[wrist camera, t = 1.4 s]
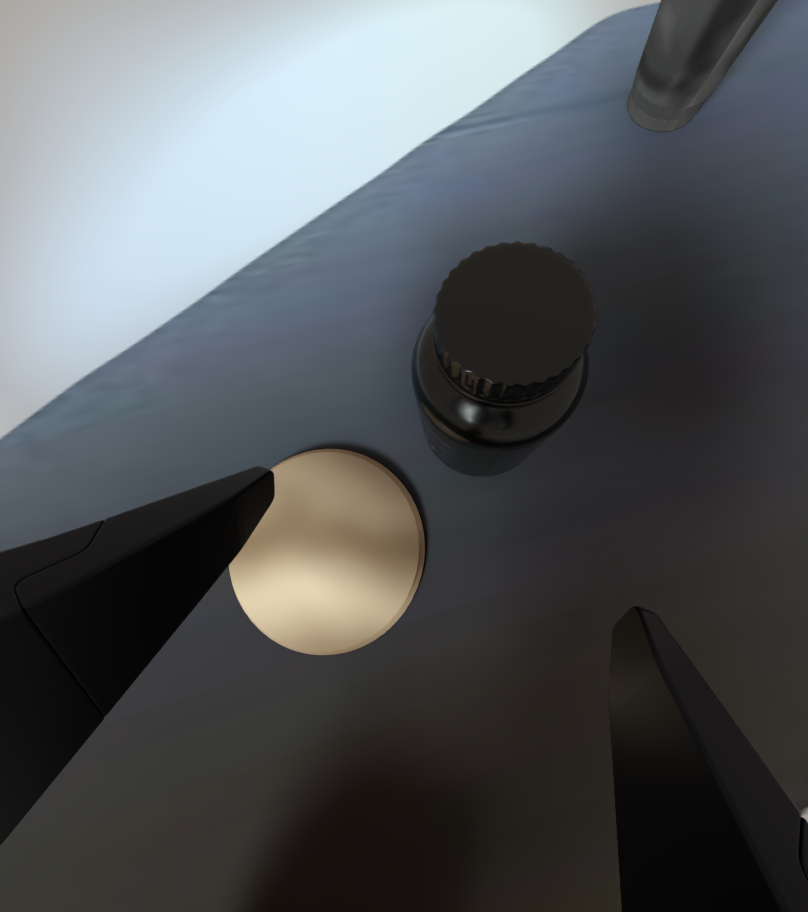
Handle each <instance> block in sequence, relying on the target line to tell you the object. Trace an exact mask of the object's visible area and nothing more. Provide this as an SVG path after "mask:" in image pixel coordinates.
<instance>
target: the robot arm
mask: <svg viewBox="0 0 808 912" xmlns="http://www.w3.org/2000/svg"><path fill="white" fill-rule="evenodd" d="M274 496H275V482H274V473H273V471H271V470H269V469H266V468H264V467H261V466H256V467H253V468H250V469H247V470H244V471H241V472H239V473H236V474H233V475H230V476H227V477H224V478H221V479H218V480H216V481H213V482H210V483H207V484H204V485H201V486H198V487H195V488H192V489H190V490H187V491H184V492H181V493H178V494H175V495H172V496H169V497H167V498H164V499H161V500H158V501H155V502H152V503H149V504H146V505H144V506H141V507H138V508H135V509H132V510H129V511H126V512H123V513H120V514H118V515H115V516H112V517H109V518H106V519H105V521H104V520H100V521H97V522H94V523H91V524H88V525H86V526H83V527H80V528H77V529H74V530H71V531H68V532H65V533H61V534H58V535H55V536H52V537H49V538H46V539H42V540H39V541H36V542H32V543H29V544H25V545H22V546H19V547H15V548H12V549H8V550H5V551H1V552H0V845H1V844H2V843H3V842H4V840H5V839H6V838H7V837H8V836H9V835H10V833H11V832H12V831H13V830H14V828H15V827H16V826H17V825H18V824H19V822H20V821H21V820H22V819H23V817H24V816H25V815H26V814H27V812H28V811H29V810H30V809H31V808H32V806H33V805H34V804H35V803H36V801H37V800H38V799H39V798H40V797H41V795H42V794H43V793H44V792H45V790H46V789H47V788H48V787H49V786H50V784H51V783H52V782H53V781H54V779H55V778H56V777H57V776H58V775H59V773H60V772H61V771H62V770H63V768H64V767H65V766H66V765H67V763H68V762H69V761H70V760H71V759H72V757H73V756H74V755H75V754H76V752H77V751H78V750H79V749H80V748H81V746H82V745H83V744H84V743H85V741H86V740H87V739H88V738H89V737H90V735H91V734H92V733H93V732H94V730H95V729H96V728H97V727H98V726H99V724H100V723H101V722H102V721H103V719H104V716H106V715H107V714H108V713H109V712H110V710H111V709H112V708H113V707H114V706H115V704H116V703H117V702H118V701H119V699H120V698H121V697H122V696H123V694H124V693H125V692H126V691H127V690H128V688H129V687H130V686H131V685H132V683H133V682H134V681H135V680H136V679H137V677H138V676H139V675H140V674H141V672H142V671H143V670H144V669H145V668H146V666H147V665H148V664H149V663H150V661H151V660H152V659H153V658H154V657H155V655H156V654H157V653H158V652H159V650H160V649H161V648H162V647H163V645H164V644H165V643H166V642H167V641H168V639H169V638H170V637H171V636H172V634H173V633H174V632H175V631H176V630H177V628H178V627H179V626H180V625H181V623H182V622H183V621H184V620H185V619H186V617H187V616H188V615H189V614H190V612H191V611H192V610H193V609H194V607H195V606H196V605H197V604H198V603H199V601H200V600H201V599H202V598H203V596H204V595H205V594H206V593H207V592H208V590H209V589H210V588H211V587H212V585H213V584H214V583H215V582H216V581H217V579H218V578H219V577H220V576H221V574H222V573H223V572H224V571H225V570H226V568H227V567H228V566H229V565H230V563H231V562H232V561H233V560H234V558H235V557H236V556H237V555H238V553H239V552H240V551H241V549H242V548H243V547H244V545H245V544H246V542H247V541H248V539H249V538H250V536H251V534H252V533H253V531H254V530H255V528H256V527H257V525H258V524H259V522H260V521H261V519H262V518H263V516H264V514H265V513H266V511H267V510H268V508H269V507H270V505H271V504H272V502H273V500H274ZM609 712H610V729H611V745H612V760H613V776H614V792H615V808H616V824H617V840H618V856H619V872H620V888H621V904H622V912H808V822H807V821H806V820H805V819H804V818H802V817H801V813H800V811H799V810H798V809H797V807H796V806H795V804H794V803H793V802H792V800H791V799H790V798H789V796H788V795H787V793H786V792H785V791H784V789H783V788H782V787H781V785H780V784H779V782H778V781H777V780H776V778H775V777H774V775H773V774H772V773H771V771H770V770H769V769H768V767H767V766H766V764H765V763H764V762H763V760H762V759H761V758H760V756H759V755H758V753H757V752H756V751H755V749H754V748H753V746H752V745H751V744H750V742H749V741H748V740H747V738H746V737H745V735H744V734H743V733H742V731H741V730H740V729H739V727H738V726H737V724H736V723H735V722H734V720H733V719H732V718H731V716H730V715H729V713H728V712H727V711H726V709H725V708H724V706H723V705H722V704H721V702H720V701H719V700H718V698H717V697H716V695H715V694H714V693H713V691H712V690H711V689H710V687H709V686H708V684H707V683H706V682H705V680H704V679H703V678H702V676H701V675H700V673H699V672H698V671H697V669H696V668H695V666H694V665H693V664H692V662H691V661H690V660H689V658H688V657H687V655H686V654H685V653H684V651H683V650H682V649H681V647H680V646H679V644H678V643H677V642H676V640H675V639H674V638H673V636H672V635H671V633H670V632H669V631H668V629H667V628H666V626H665V625H664V624H663V622H662V621H661V620H660V618H659V617H658V616H657V615H656V614H655V613H654V612H652V611H649V610H647V609H644V608H641V607H638V606H634V607H632V608H631V609H630V610H629V611H628V612H627V613H626V614H625V615H624V616H623V617H622V618H621V619H620V620H619V621H618V622H617V623H616V625H615V626H614V629H613V633H612V648H611V668H610V687H609Z"/></svg>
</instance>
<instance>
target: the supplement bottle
mask: <svg viewBox="0 0 808 912" xmlns="http://www.w3.org/2000/svg"><path fill="white" fill-rule="evenodd" d="M595 302H596V299H595V297H594V296H593V294H592V293H591V285H590V284H589V283H588V282H587V281H586V280H585V275H584V273H583V272H582V271H580V270H579V269H577V267H576V265H575V264H574V262H572V261H570V260H568V259H566V258H565V257H564V256H563V254H562V253H558V252H554V251H552V250H551V249H550V248H549V247H544V246H538V245H536V244H534V243H527V244H524V243H521V242H518V241H517V242H513V243H504V242H502V243H499V244H497V245H496V246H487V247H485V248H484V249H483V250H481V251H476V252H473V253H472V254H471V255H470V257H469V258H466V259H463V260H461V262H460V263H459V265H458V266H457V267H456V268H454V269H452V270H451V271H450V273H449V277H448V278H447V279H445V280H444V281H443V282H442V287H441V290H440V291H439V293H438V294H437V296H436V305H435V308H434V310H433V314H432V315H431V316H430V317H429V319H428V320H427V321H426V323H425V324H424V326H423V327H422V329H421V331H420V333H419V335H418V338H417V340H416V343H415V346H414V350H413V355H412V365H411V369H412V382H413V388H414V392H415V397H416V401H417V405H418V409H419V414H420V418H421V422H422V426H423V430H424V434H425V437H426V439H427V442H428V444H429V446H430V448H431V449H432V451H433V452H434V453H435V455H436V456H437V457H438V458H439V459H440V460H441V461H442V462H443V463H444V464H446V465H447V466H448V467H450V468H452V469H454V470H456V471H458V472H460V473H463V474H467V475H471V476H492V475H497V474H500V473H503V472H506V471H508V470H510V469H512V468H514V467H515V466H517V465H518V464H519V463H521V462H522V461H523V460H525V459H526V458H527V457H528V456H529V455H530V454H531V453H532V452H533V451H535V450H536V449H537V448H538V447H539V446H540V445H541V444H542V443H543V442H544V441H546V440H547V439H548V438H549V437H550V436H551V435H552V434H553V433H554V432H555V431H557V430H558V429H559V428H560V427H561V426H562V425H563V424H564V423H565V422H566V420H567V419H568V418H569V417H570V416H571V414H572V413H573V412H574V410H575V409H576V407H577V406H578V404H579V402H580V400H581V398H582V395H583V393H584V390H585V387H586V383H587V378H588V369H589V362H588V352H587V348H588V347H589V345H590V339H591V336H592V334H593V333H594V331H595V322H594V321H595V319H596V316H597V312H596V309H595V307H594V305H595Z"/></svg>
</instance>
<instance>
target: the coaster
mask: <svg viewBox="0 0 808 912" xmlns="http://www.w3.org/2000/svg"><path fill="white" fill-rule="evenodd" d="M270 470H271V471H273V473H274V482H275V496H274V500H273V502H272V504H271V505H270V507H269V508H268V510H267V511H266V513H265V514H264V516H263V518H262V519H261V521H260V522H259V524H258V525H257V527H256V528H255V530H254V531H253V533H252V534H251V536H250V538H249V539H248V541H247V542H246V544H245V545H244V547H243V548H242V549H241V551H240V552H239V553H238V555H237V556H236V557H235V558H234V560H233V561H232V562H231V563H230V565H229V570H230V576H231V580H232V585H233V588H234V591H235V593H236V596H237V599H238V601H239V602H240V604H241V606H242V608H243V610H244V611H245V613H246V614H247V616H248V617H249V618H250V620H251V621H252V622H253V623H254V624H255V625H256V626H257V628H258V629H259V630H260V631H261V632H263V633H264V634H265V635H266V636H268V637H269V638H270V639H272V640H273V641H275V642H277V643H279V644H280V645H282V646H284V647H287V648H289V649H292V650H294V651H298V652H302V653H306V654H314V655H334V654H340V653H345V652H349V651H352V650H355V649H358V648H360V647H363V646H364V645H366V644H368V643H370V642H372V641H374V640H375V639H377V638H378V637H380V636H381V635H382V634H384V633H385V632H386V631H387V630H388V629H389V628H391V627H392V626H393V625H394V624H395V623H396V622H397V620H398V619H399V618H400V617H401V616H402V614H403V613H404V612H405V610H406V608H407V607H408V605H409V604H410V602H411V601H412V598H413V596H414V594H415V592H416V590H417V587H418V584H419V581H420V578H421V575H422V570H423V564H424V555H425V541H424V531H423V526H422V522H421V518H420V515H419V512H418V510H417V507H416V505H415V503H414V501H413V499H412V497H411V495H410V494H409V492H408V491H407V489H406V488H405V486H404V485H403V484H402V483H401V482H400V480H399V479H398V478H397V477H396V476H395V475H394V474H393V473H392V472H390V471H389V470H388V469H387V468H386V467H384V466H383V465H381V464H380V463H378V462H377V461H375V460H373V459H371V458H369V457H367V456H365V455H362V454H359V453H356V452H353V451H347V450H342V449H319V450H312V451H308V452H303V453H301V454H298V455H295V456H292V457H290V458H288V459H286V460H284V461H282V462H281V463H279V464H278V465H276V466H275V467H273V468H272V469H270Z"/></svg>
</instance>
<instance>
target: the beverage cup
mask: <svg viewBox="0 0 808 912" xmlns="http://www.w3.org/2000/svg"><path fill="white" fill-rule="evenodd" d="M776 2H777V0H661V3H660V5H659V8H658V11H657V14H656V17H655V20H654V23H653V25H652V28H651V31H650V34H649V37H648V40H647V42H646V45H645V48H644V51H643V54H642V57H641V60H640V62H639V65H638V68H637V72H636V76H635V80H634V83H633V87H632V90H631V92H630V94H629V97H628V101H627V108H628V113H629V114H630V116H631V118H632V119H633V120H634V121H635V122H636V123H637V124H638V125H640V126H641V127H644V128H646V129H649V130H652V131H659V132H663V131H673V130H675V129H678V128H681V127H683V126H684V125H686V124H687V123H688V122H690V121H691V119H692V118H693V116H694V115H695V114H696V112H697V110H698V109H699V108H700V107H701V105H702V104H703V103H704V101H705V100H706V99H707V98H708V97H709V96H710V95H711V93H712V92H713V90H714V89H715V88H716V86H717V85H718V83H719V82H720V81H721V79H722V78H723V76H724V75H725V73H726V72H727V71H728V69H729V68H730V66H731V65H732V64H733V62H734V61H735V59H736V58H737V57H738V55H739V54H740V52H741V51H742V50H743V48H744V47H745V45H746V44H747V43H748V41H749V40H750V38H751V37H752V36H753V34H754V33H755V31H756V30H757V29H758V27H759V26H760V24H761V23H762V21H763V20H764V19H765V17H766V16H767V14H768V13H769V12H770V10H771V9H772V7H773V6H774V5H775V3H776Z"/></svg>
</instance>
